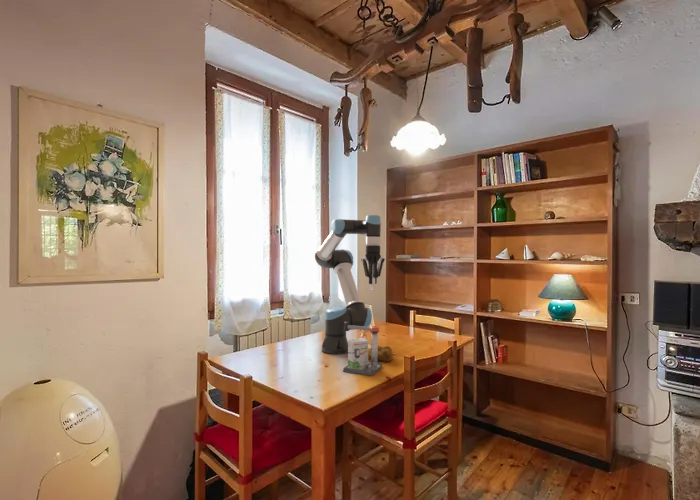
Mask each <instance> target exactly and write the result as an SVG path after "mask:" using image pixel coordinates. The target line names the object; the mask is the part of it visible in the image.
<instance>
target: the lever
mask: <svg viewBox="0 0 700 500" xmlns="http://www.w3.org/2000/svg"><path fill="white" fill-rule="evenodd" d="M349 329H355V330H358V331H359V330H360V331H365V332H367V331H368V332H370V333H371V332H372V333H378V334H379V332H380V327H379V326H369V327H364V326H355V325H349V322H344V331H346V332H350V330H349Z"/></svg>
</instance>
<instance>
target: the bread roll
mask: <svg viewBox="0 0 700 500" xmlns="http://www.w3.org/2000/svg"><path fill="white" fill-rule="evenodd" d="M393 351H394V350H393V349H392V348H391V346H386V345H384V346H380V345H378V361H379V362H382V361H383V362H384V363H385V362H387V361H388V362H391V361H392V359H394V352H393ZM368 359H371V350H370V351H368Z"/></svg>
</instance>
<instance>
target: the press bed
mask: <svg viewBox="0 0 700 500" xmlns="http://www.w3.org/2000/svg"><path fill="white" fill-rule="evenodd" d="M370 333H371V334H370V335H371V336H370V337H371V339H370V341H371V342H370V343H371V346H370V348H371V349H370V351H371V358H370V361H368V365H363V366H358V367H351V366H350V365H348V364H347V365H346V366H344V368H343V371H342V372H345V373H349V374H355V375H356V374H358V375H362V374H364V375H363V376H369V375H371V377H373V376H374V375H375V374H376V373H377V372H379V370H380V369H381V368H382V367H383V363H382V362H380V363H379V362H378V346H379V332H378V333H372V332H370ZM372 375H373V376H372Z"/></svg>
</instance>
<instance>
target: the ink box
mask: <svg viewBox="0 0 700 500" xmlns="http://www.w3.org/2000/svg"><path fill="white" fill-rule="evenodd" d="M347 341H348V352H347V365H350V366H351V367H358V366H363V365H368V362H369V356H368V354H369V340H368V339H366V338H364V337H360V338H350V339H349V340H348V339H347Z"/></svg>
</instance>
